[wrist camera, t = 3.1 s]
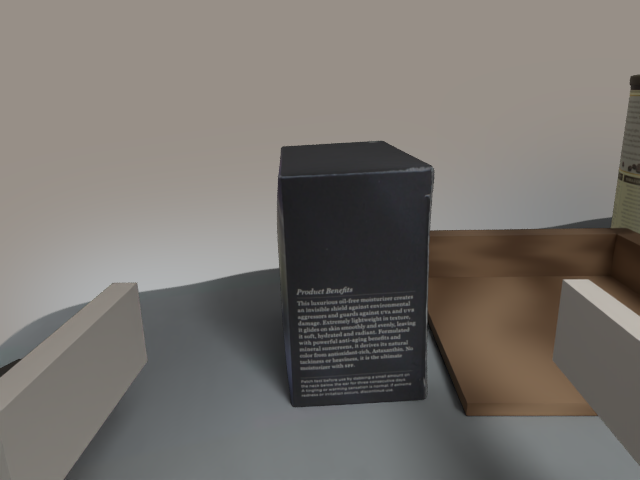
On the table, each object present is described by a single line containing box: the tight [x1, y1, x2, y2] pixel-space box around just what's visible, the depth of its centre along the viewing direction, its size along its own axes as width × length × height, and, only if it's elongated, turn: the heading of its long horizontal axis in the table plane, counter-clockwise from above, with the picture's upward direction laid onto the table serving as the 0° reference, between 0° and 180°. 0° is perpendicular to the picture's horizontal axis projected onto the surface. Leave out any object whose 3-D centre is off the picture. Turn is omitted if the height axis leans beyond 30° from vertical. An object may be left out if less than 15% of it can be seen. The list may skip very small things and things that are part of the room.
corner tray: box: [428, 228, 640, 416], centre depth 27 cm, size 15×16×4 cm
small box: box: [277, 141, 434, 407], centre depth 25 cm, size 11×6×10 cm, turn 4°
